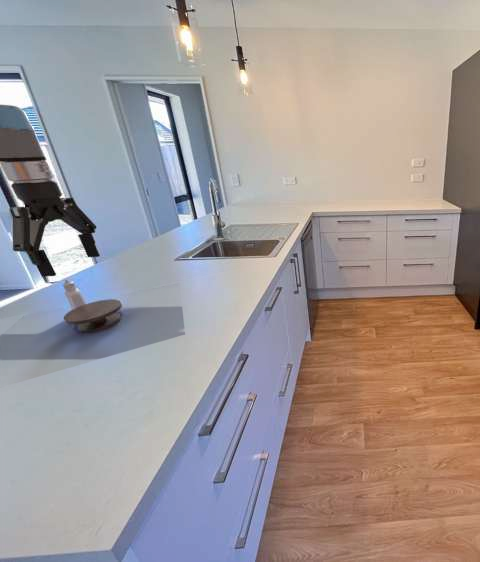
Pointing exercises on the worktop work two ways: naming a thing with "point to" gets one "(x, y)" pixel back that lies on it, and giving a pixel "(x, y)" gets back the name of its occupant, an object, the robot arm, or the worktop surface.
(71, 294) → the eye dropper bottle
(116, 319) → the walnut stand
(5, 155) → the robot arm
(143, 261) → the worktop surface
